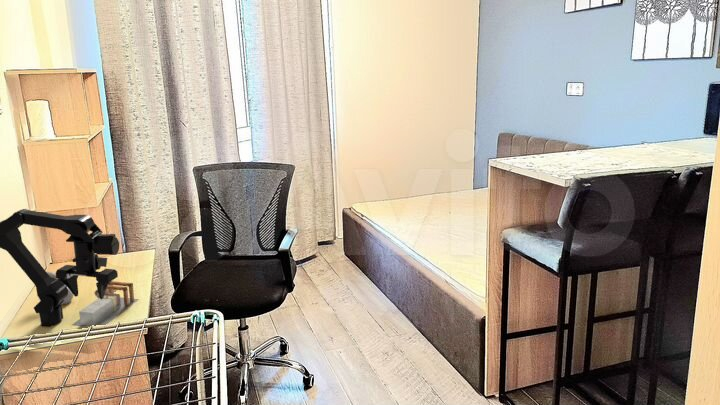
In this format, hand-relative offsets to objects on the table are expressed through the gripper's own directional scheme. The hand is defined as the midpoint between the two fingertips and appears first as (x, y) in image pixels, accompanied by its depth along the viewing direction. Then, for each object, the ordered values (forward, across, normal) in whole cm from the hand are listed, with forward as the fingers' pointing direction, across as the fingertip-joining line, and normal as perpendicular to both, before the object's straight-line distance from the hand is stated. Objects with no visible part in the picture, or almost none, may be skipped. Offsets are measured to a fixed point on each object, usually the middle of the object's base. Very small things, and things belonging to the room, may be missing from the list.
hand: (89, 297), depth 171 cm
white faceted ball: (+10, +21, -12) cm, 26 cm away
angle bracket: (+10, 0, -17) cm, 20 cm away
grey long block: (+9, 0, -5) cm, 10 cm away
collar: (+10, 0, -14) cm, 17 cm away
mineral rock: (+11, +10, -22) cm, 27 cm away
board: (+10, 0, -8) cm, 13 cm away
